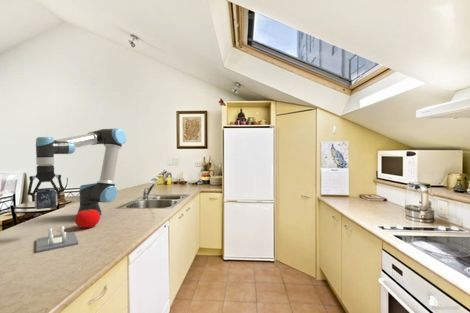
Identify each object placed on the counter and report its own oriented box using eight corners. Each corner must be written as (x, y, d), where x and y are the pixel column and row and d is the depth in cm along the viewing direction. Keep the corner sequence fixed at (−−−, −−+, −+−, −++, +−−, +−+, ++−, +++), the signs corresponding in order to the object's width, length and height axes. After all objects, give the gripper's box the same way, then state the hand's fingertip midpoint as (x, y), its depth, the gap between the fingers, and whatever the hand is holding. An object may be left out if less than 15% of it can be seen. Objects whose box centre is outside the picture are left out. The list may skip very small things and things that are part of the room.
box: (36, 209, 125) (35, 190, 125) (38, 207, 130) (37, 188, 130) (55, 207, 130) (54, 188, 129) (55, 205, 134) (55, 187, 134)
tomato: (104, 224, 148) (104, 207, 148) (85, 231, 136) (84, 212, 136) (90, 223, 152) (90, 206, 152) (70, 229, 140) (70, 210, 140)
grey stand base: (73, 233, 132) (73, 223, 132) (78, 244, 117) (78, 232, 117) (36, 240, 122) (36, 228, 122) (36, 252, 107) (36, 239, 106)
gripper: (68, 164, 139) (68, 202, 140) (20, 165, 125) (21, 207, 126) (69, 164, 133) (70, 204, 134) (19, 166, 120) (20, 210, 120)
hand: (46, 206), depth 130 cm, fingers closed on box, 8 cm apart
